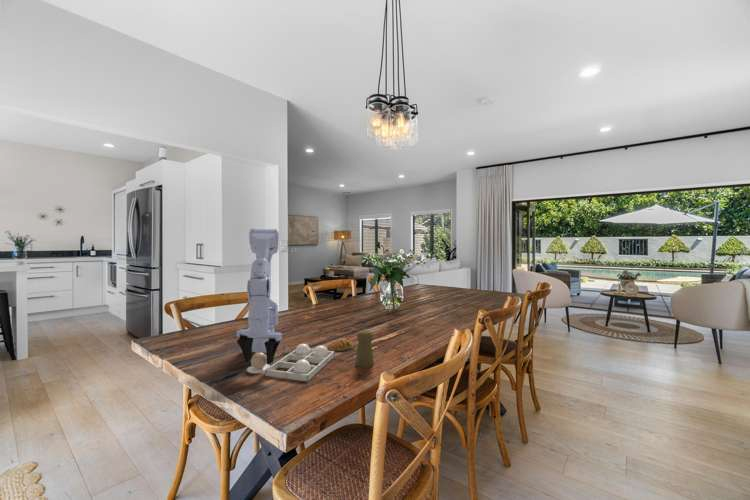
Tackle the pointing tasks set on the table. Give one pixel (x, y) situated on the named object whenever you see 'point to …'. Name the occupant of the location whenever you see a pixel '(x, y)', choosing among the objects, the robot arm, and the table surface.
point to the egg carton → (292, 356)
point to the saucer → (253, 370)
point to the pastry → (341, 345)
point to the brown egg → (258, 360)
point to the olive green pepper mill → (364, 349)
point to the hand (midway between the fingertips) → (259, 361)
